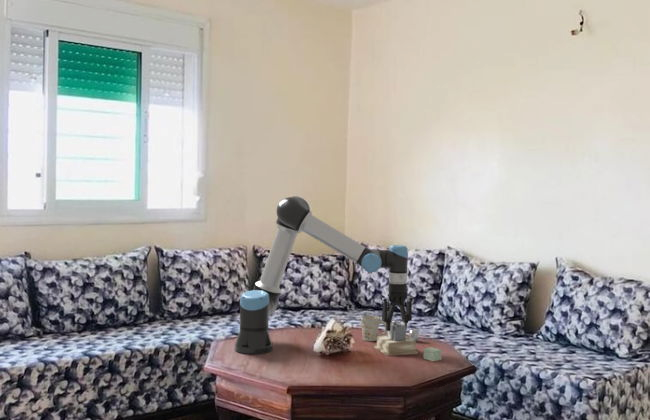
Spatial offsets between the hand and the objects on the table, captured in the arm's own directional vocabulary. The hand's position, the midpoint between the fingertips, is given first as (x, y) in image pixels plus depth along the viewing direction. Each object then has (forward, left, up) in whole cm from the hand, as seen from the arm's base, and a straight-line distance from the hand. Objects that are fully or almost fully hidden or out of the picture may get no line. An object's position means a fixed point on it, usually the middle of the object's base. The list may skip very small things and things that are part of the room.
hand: (396, 338), depth 275 cm
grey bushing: (-13, +15, -5) cm, 21 cm away
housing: (0, 0, 0) cm, 0 cm away
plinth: (0, 0, -5) cm, 5 cm away
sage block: (+15, +9, -5) cm, 18 cm away
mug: (-20, -1, -6) cm, 21 cm away
